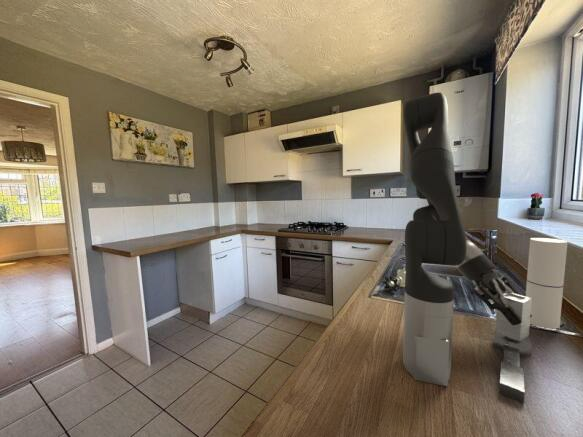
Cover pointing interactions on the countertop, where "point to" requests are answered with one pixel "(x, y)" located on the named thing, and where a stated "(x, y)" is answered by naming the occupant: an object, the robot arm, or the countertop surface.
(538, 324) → the cylindrical container
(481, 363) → the countertop surface
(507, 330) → the socket
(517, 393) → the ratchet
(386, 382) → the countertop surface
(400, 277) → the valve
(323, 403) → the countertop surface
